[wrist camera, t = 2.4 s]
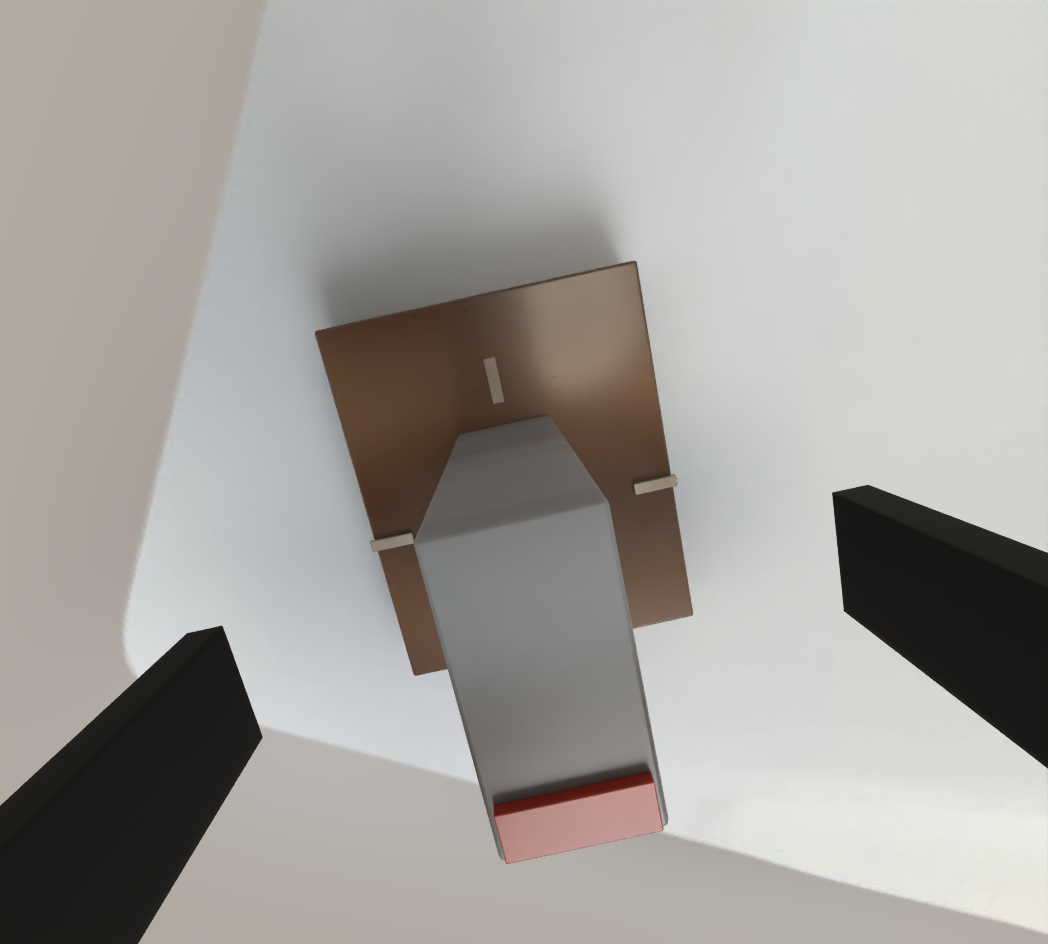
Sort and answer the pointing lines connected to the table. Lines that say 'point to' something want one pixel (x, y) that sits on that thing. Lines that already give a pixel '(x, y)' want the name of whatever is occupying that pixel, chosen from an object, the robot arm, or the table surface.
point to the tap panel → (502, 398)
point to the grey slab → (540, 643)
